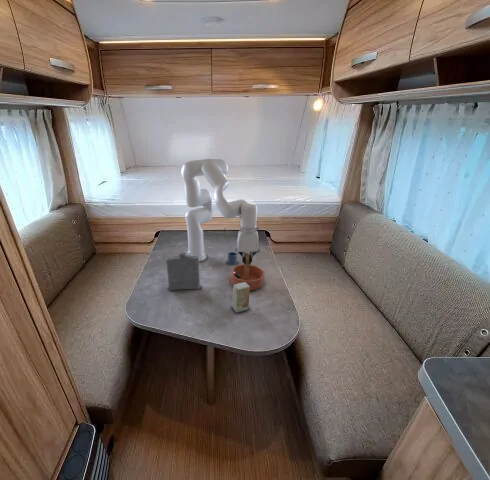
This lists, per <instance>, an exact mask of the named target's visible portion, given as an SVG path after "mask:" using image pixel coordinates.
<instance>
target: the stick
mask: <svg viewBox="0 0 490 480" xmlns="http://www.w3.org/2000/svg"><path fill="white" fill-rule="evenodd" d="M245 257H246V264H245V271H244V280H246V281H249V265H250V264H249V257H250V252H245Z"/></svg>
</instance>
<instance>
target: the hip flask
mask: <svg viewBox="0 0 490 480" xmlns="http://www.w3.org/2000/svg"><path fill="white" fill-rule="evenodd" d="M165 261H166V271H167V273H166V274H167V282H168V283H167V284H168V290H169V291H176V290H199V289H200V288H201V283H200V281H201V280H200V261H199V257H198V256H188V255H186V252H184V250H181V251H179V252H178V255H174V256H173V255H172V256H167V257H165Z"/></svg>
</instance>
